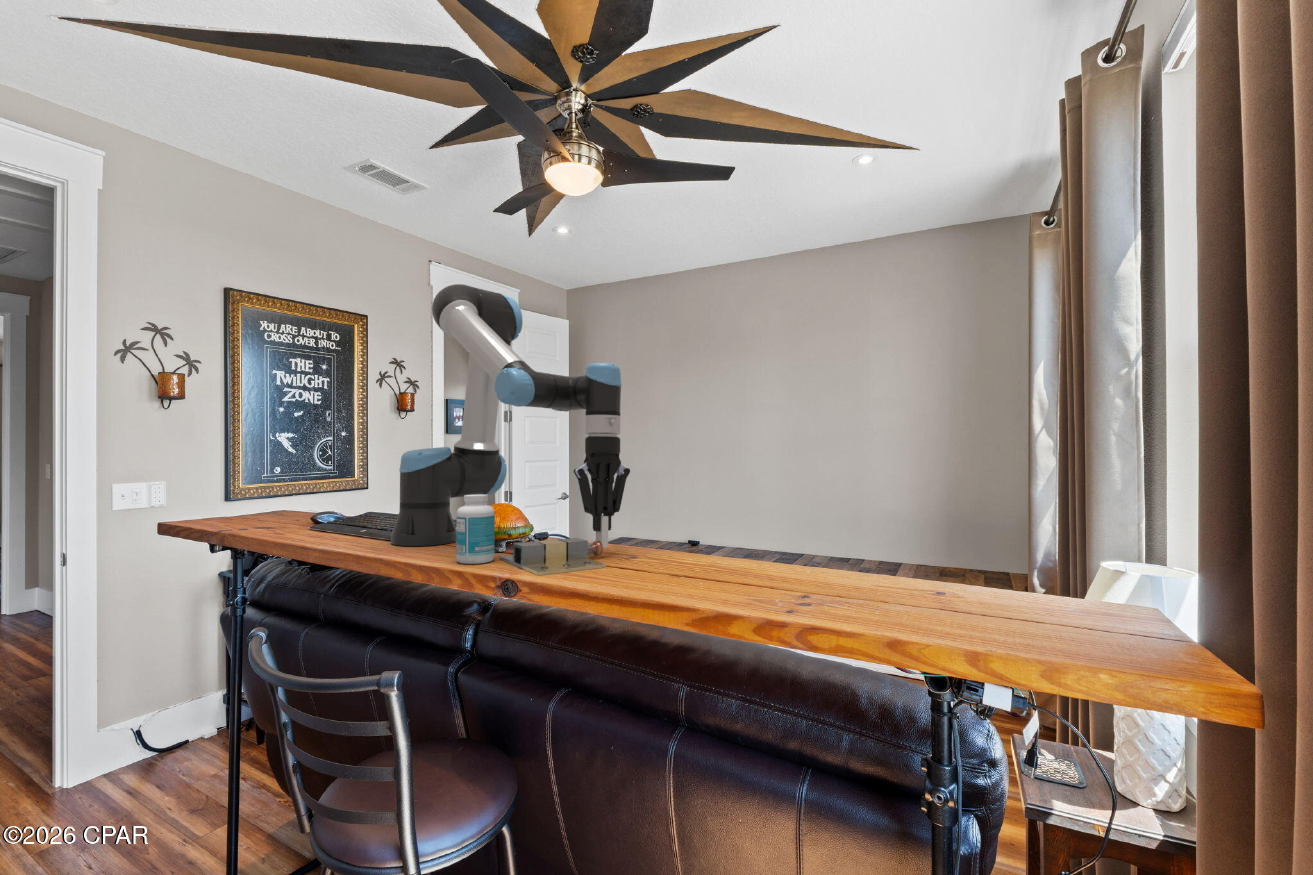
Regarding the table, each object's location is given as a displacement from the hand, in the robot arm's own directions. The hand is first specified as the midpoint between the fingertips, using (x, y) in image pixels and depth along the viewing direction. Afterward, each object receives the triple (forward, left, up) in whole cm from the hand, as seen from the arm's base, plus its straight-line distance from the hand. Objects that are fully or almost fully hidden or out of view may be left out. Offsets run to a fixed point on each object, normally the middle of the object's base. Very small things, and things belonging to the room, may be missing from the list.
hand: (601, 546), depth 123 cm
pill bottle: (-10, -24, -3) cm, 26 cm away
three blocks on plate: (0, -12, -2) cm, 12 cm away
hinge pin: (0, -9, -2) cm, 9 cm away
